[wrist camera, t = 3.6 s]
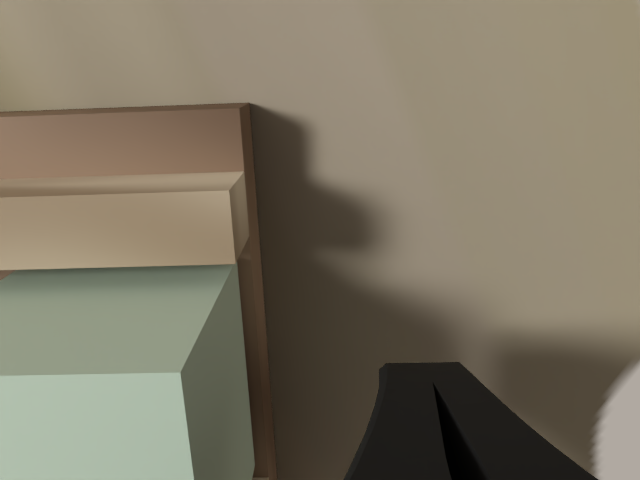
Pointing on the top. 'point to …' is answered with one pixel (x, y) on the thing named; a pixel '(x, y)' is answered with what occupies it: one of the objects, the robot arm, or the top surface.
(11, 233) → the track
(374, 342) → the top surface
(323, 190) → the top surface
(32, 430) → the block
